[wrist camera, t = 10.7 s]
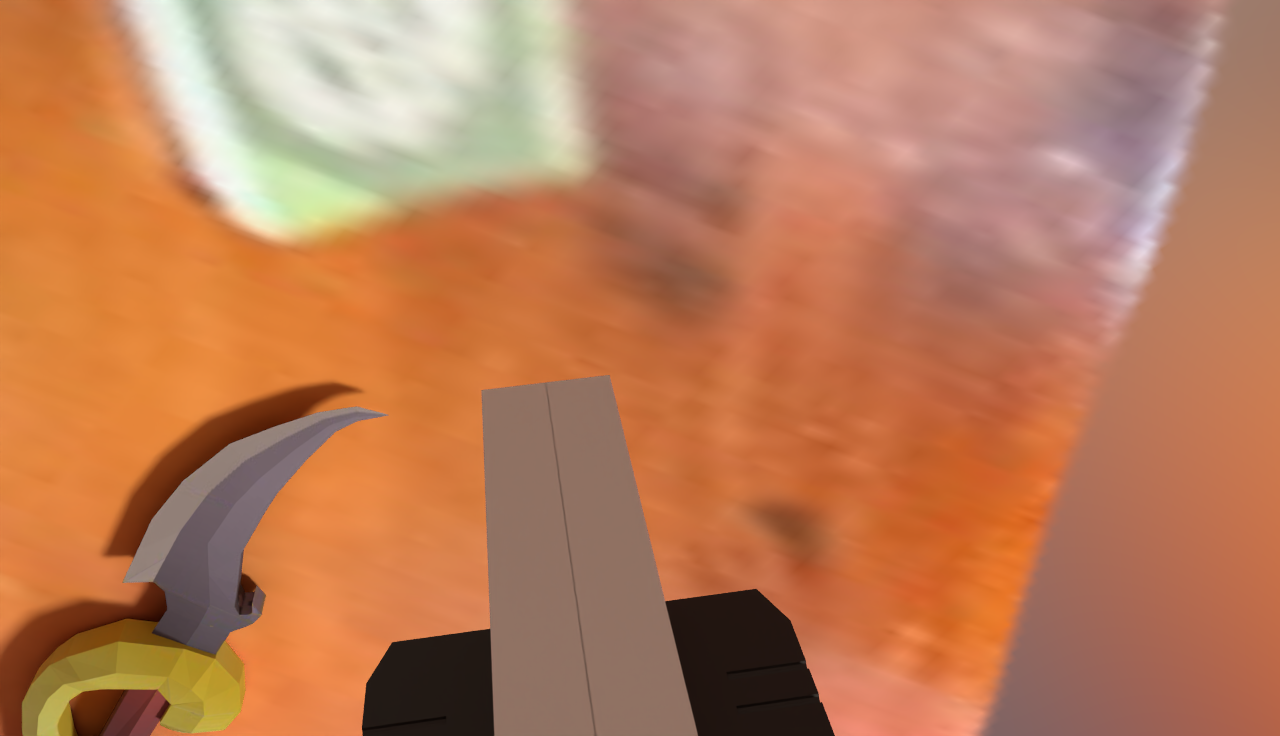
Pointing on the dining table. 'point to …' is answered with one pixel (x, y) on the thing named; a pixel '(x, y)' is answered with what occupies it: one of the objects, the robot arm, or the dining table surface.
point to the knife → (185, 597)
